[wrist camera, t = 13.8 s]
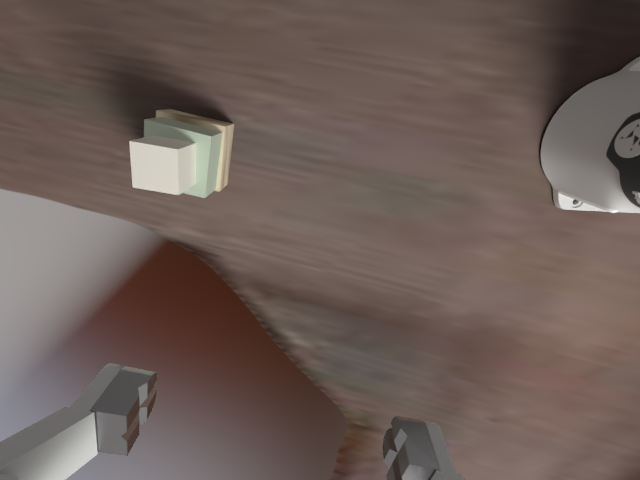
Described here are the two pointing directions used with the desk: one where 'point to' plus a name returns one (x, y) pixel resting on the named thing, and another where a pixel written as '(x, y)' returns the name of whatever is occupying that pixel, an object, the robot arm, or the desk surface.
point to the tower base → (213, 125)
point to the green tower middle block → (205, 149)
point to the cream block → (163, 164)
